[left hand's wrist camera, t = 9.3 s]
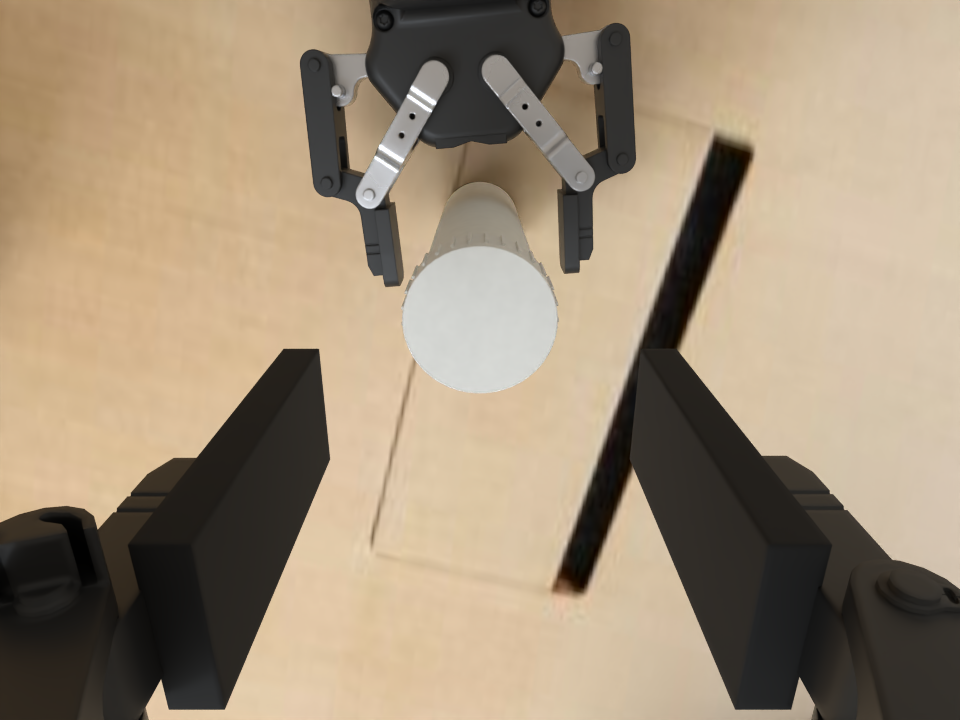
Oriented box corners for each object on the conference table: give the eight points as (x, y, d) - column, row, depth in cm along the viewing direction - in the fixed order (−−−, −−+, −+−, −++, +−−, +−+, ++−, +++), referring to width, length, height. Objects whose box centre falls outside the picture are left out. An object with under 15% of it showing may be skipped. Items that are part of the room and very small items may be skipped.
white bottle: (446, 260, 37) (419, 386, 21) (438, 184, 36) (402, 256, 19) (519, 254, 37) (551, 376, 21) (515, 178, 36) (546, 244, 19)
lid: (415, 377, 22) (409, 401, 20) (397, 237, 20) (389, 250, 19) (556, 367, 22) (562, 390, 20) (550, 224, 20) (557, 236, 18)
